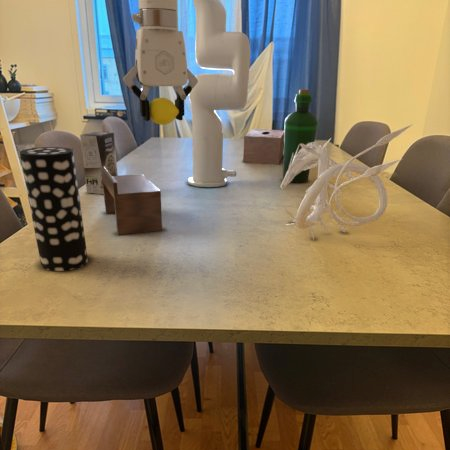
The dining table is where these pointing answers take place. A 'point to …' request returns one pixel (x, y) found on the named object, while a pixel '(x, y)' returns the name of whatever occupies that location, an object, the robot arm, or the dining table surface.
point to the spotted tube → (55, 207)
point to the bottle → (299, 132)
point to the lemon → (162, 111)
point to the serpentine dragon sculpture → (320, 186)
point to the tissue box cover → (263, 146)
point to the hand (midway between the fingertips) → (163, 119)
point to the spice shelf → (132, 202)
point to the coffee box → (98, 158)
